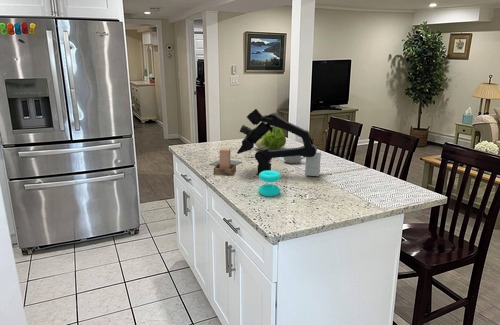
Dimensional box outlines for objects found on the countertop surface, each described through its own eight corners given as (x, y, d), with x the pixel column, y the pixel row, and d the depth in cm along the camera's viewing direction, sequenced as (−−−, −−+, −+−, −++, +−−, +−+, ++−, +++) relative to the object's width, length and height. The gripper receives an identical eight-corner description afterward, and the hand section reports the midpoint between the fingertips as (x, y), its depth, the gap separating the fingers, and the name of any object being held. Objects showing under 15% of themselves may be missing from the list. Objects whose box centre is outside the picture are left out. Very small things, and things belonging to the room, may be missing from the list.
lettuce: (253, 150, 263) (248, 131, 256) (279, 139, 268) (275, 120, 261) (263, 159, 250) (258, 140, 242) (290, 147, 255) (286, 128, 247)
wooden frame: (235, 170, 208) (236, 164, 207) (232, 175, 198) (232, 169, 197) (217, 169, 209) (217, 163, 209) (213, 174, 200) (213, 168, 199)
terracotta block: (230, 171, 206) (230, 148, 203) (228, 174, 201) (228, 150, 198) (221, 170, 207) (221, 147, 203) (219, 173, 202) (219, 150, 198)
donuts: (276, 169, 177) (284, 175, 167) (275, 189, 179) (283, 196, 170) (256, 170, 174) (262, 176, 165) (255, 190, 177) (262, 198, 168)
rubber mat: (242, 162, 223) (242, 161, 223) (229, 168, 212) (229, 167, 212) (222, 159, 230) (222, 158, 230) (209, 164, 218) (209, 164, 218)
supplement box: (319, 174, 203) (321, 151, 201) (318, 176, 196) (320, 152, 194) (306, 173, 205) (307, 150, 203) (304, 175, 198) (306, 151, 196)
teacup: (280, 163, 223) (280, 150, 221) (287, 159, 232) (287, 146, 230) (302, 166, 217) (302, 153, 215) (308, 162, 226) (309, 149, 224)
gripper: (251, 117, 204) (231, 136, 208) (246, 123, 186) (224, 144, 190) (265, 132, 205) (245, 151, 209) (261, 139, 187) (240, 159, 192)
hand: (238, 151), depth 200 cm, fingers open, 9 cm apart
